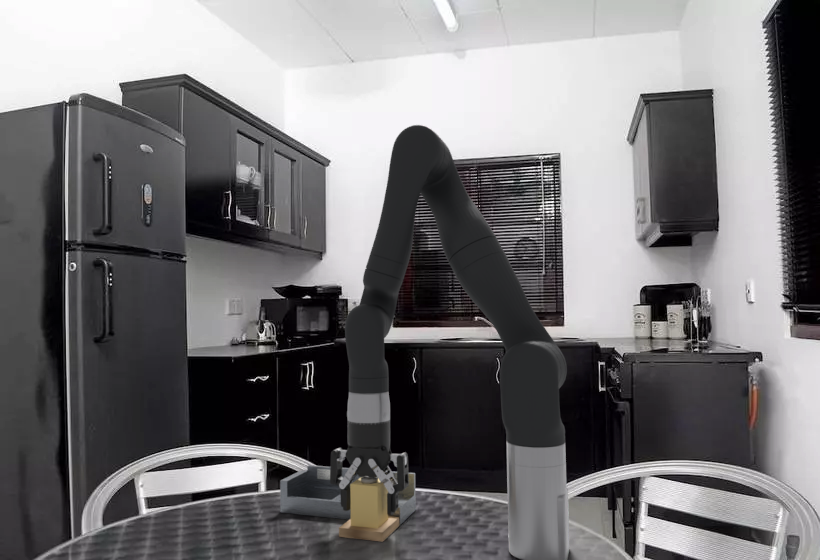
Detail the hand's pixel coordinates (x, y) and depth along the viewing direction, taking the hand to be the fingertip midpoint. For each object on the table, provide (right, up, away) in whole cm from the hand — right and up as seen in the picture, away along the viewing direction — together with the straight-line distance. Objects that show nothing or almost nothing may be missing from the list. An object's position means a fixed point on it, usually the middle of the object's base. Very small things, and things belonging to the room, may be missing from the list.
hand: (369, 511), depth 106 cm
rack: (-5, -4, +10) cm, 12 cm away
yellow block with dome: (0, -2, 0) cm, 2 cm away
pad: (0, -3, 0) cm, 3 cm away
